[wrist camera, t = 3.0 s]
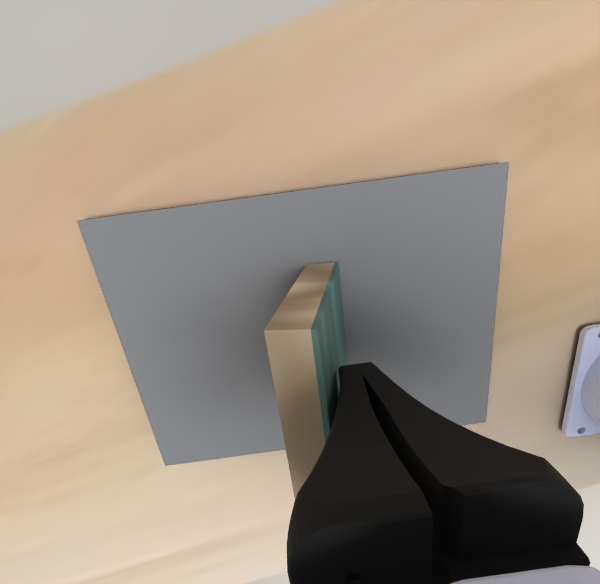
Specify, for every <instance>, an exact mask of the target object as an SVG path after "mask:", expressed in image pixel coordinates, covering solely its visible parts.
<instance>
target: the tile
mask: <svg viewBox="0 0 600 584" xmlns="http://www.w3.org/2000/svg"><path fill="white" fill-rule="evenodd" d="M264 334H265V339H266V344H267V350H268V355H269V361H270V366H271V371H272V377H273V382H274V388H275V393H276V398H277V404H278V409H279V415H280V420H281V425H282V431H283V436H284V442H285V447H286V452H287V458H288V463H289V469H290V474H291V479H292V485H293V490H294V496H295V499H296V496H297V493H298V491H299V490H300V488H301V487H302V485H303V484H304V482H305V481H306V479H307V477H308V476H309V474H310V473H311V471H312V469H313V467H314V465H315V464H316V462H317V460H318V458H319V456H320V454H321V452H322V450H323V448H324V445H325V443H326V440H327V438H328V435H329V433H330V430H331V427H332V424H333V420H334V417H335V413H336V408H337V404H338V399H339V391H340V381H339V370H338V369H339V368H340V366H344V365H348V360H347V349H346V338H345V326H344V315H343V304H342V292H341V281H340V270H339V262H334V263H320V264H307V265H306V266H305V268H304V269H303V271H302V272H301V274H300V275H299V277H298V278H297V280H296V282H295V283H294V285H293V286H292V288H291V289H290V291H289V292H288V294H287V296H286V297H285V299H284V300H283V302H282V303H281V305H280V306H279V308H278V309H277V311H276V313H275V314H274V316H273V317H272V319H271V320H270V322H269V323H268V325H267V326H266V328H265V330H264Z"/></svg>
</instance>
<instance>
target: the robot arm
mask: <svg viewBox="0 0 600 584" xmlns="http://www.w3.org/2000/svg"><path fill="white" fill-rule="evenodd" d="M338 370H339V381H340V391H339V399H338V404H337V408H336V413H335V417H334V420H333V424H332V427H331V430H330V433H329V435H328V438H327V440H326V443H325V445H324V448H323V450H322V452H321V454H320V456H319V458H318V460H317V462H316V464H315V465H314V467H313V469H312V471H311V473H310V474H309V476H308V477H307V479H306V481H305V482H304V484H303V485H302V487H301V488H300V490H299V491H298V493H297V496H296V499H295V503H294V507H293V511H292V515H291V519H290V524H289V530H288V539H287V569H288V576H289V580H290V584H600V571H599V570H597V569H595V568H593V567H590V566H589V565H590V561H589V558H588V557H587V556H586V554H585V553H584V552H583V551H582V549H581V548H580V547H579V546H578V545H577V543H576V542H577V538H578V534H579V530H580V526H581V523H582V518H583V507H584V504H583V502H582V499H581V496H580V495H579V494H578V493H577V492H576V491H575V489H574V488H573V487H572V486H571V485H570V484H569V483H568V482H567V481H566V480H565V478H564V477H563V476H562V475H561V474H560V473H559V472H558V471H557V470H556V469H555V468H554V467H553V466H552V465H551V464H550V463H549V462H548V461H547V460H546V459H545V458H542V457H539V456H536V455H533V454H530V453H527V452H524V451H521V450H518V449H515V448H512V447H509V446H506V445H504V444H501V443H499V442H496V441H494V440H491V439H489V438H486V437H484V436H481V435H479V434H477V433H475V432H472V431H470V430H468V429H466V428H464V427H462V426H460V425H458V424H456V423H454V422H452V421H450V420H449V419H447V418H445V417H443V416H442V415H440V414H438V413H437V412H435V411H433V410H431V409H430V408H428V407H427V406H425V405H424V404H422V403H421V402H419V401H418V400H416V399H415V398H414V397H412V396H411V395H410V394H408V393H407V392H406V391H404V390H403V389H402V388H401V387H400V386H398V385H397V384H396V383H395V382H393V381H392V380H391V379H390V378H389V377H388V376H387V375H385V374H384V373H383V372H382V371H381V370H380V369H379V368H378V367H377V366H375V365H374V364H373V363H372V362H366V363H359V364H351V365H344V366H340V368H339V369H338ZM562 432H563V433H564V434H565V435H566V436H567V437H578V436H585V435H592V434H600V324H595V325H589V326H586V327H584V328H583V329H582V330H581V332H580V336H579V341H578V346H577V351H576V356H575V362H574V367H573V372H572V377H571V382H570V387H569V393H568V398H567V403H566V408H565V413H564V419H563V424H562Z"/></svg>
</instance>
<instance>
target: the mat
mask: <svg viewBox="0 0 600 584" xmlns="http://www.w3.org/2000/svg"><path fill="white" fill-rule="evenodd" d="M508 168H509V162H506V163H496V164H489V165H482V166H474V167H467V168H460V169H452V170H445V171H438V172H430V173H423V174H416V175H408V176H401V177H393V178H386V179H379V180H371V181H364V182H357V183H349V184H342V185H335V186H327V187H320V188H313V189H305V190H298V191H290V192H283V193H276V194H268V195H261V196H254V197H246V198H239V199H232V200H224V201H217V202H210V203H202V204H195V205H187V206H180V207H173V208H165V209H158V210H151V211H143V212H136V213H129V214H121V215H114V216H107V217H99V218H92V219H85V220H79V221H77V223H78V225H79V228H80V231H81V234H82V237H83V239H84V242H85V245H86V248H87V250H88V253H89V256H90V259H91V261H92V264H93V267H94V270H95V272H96V275H97V278H98V281H99V284H100V286H101V289H102V292H103V295H104V297H105V300H106V303H107V306H108V308H109V311H110V314H111V317H112V320H113V322H114V325H115V328H116V331H117V333H118V336H119V339H120V342H121V344H122V347H123V350H124V353H125V356H126V358H127V361H128V364H129V367H130V369H131V372H132V375H133V378H134V380H135V383H136V386H137V389H138V391H139V394H140V397H141V400H142V403H143V405H144V408H145V411H146V414H147V416H148V419H149V422H150V425H151V427H152V430H153V433H154V436H155V439H156V441H157V444H158V447H159V450H160V452H161V455H162V458H163V461H164V463H165V466H167V465H175V464H182V463H189V462H197V461H204V460H211V459H219V458H226V457H233V456H241V455H248V454H255V453H263V452H270V451H277V450H284V449H286V447H285V442H284V436H283V431H282V425H281V420H280V415H279V409H278V404H277V398H276V393H275V388H274V382H273V377H272V371H271V366H270V361H269V355H268V350H267V344H266V339H265V334H264V330H265V328H266V326H267V325H268V323H269V322H270V320H271V319H272V317H273V316H274V314H275V313H276V311H277V309H278V308H279V306H280V305H281V303H282V302H283V300H284V299H285V297H286V296H287V294H288V292H289V291H290V289H291V288H292V286H293V285H294V283H295V282H296V280H297V278H298V277H299V275H300V274H301V272H302V271H303V269H304V268H305V266H306V265H307V264H320V263H334V262H339V270H340V281H341V292H342V304H343V315H344V326H345V338H346V349H347V360H348V365H351V364H359V363H366V362H372V363H373V364H374V365H375V366H377V367H378V368H379V369H380V370H381V371H382V372H383V373H384V374H385V375H387V376H388V377H389V378H390V379H391V380H392V381H393V382H395V383H396V384H397V385H398V386H400V387H401V388H402V389H403V390H404V391H406V392H407V393H408V394H410V395H411V396H412V397H414V398H415V399H416V400H418V401H419V402H421V403H422V404H424V405H425V406H427V407H428V408H430V409H431V410H433V411H435V412H437V413H438V414H440V415H442V416H443V417H445V418H447V419H449V420H450V421H452V422H454V423H456V424H458V425H467V424H475V423H482V422H486V414H487V403H488V391H489V380H490V369H491V358H492V347H493V336H494V324H495V313H496V302H497V291H498V280H499V269H500V257H501V246H502V235H503V224H504V213H505V202H506V190H507V179H508Z"/></svg>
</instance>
